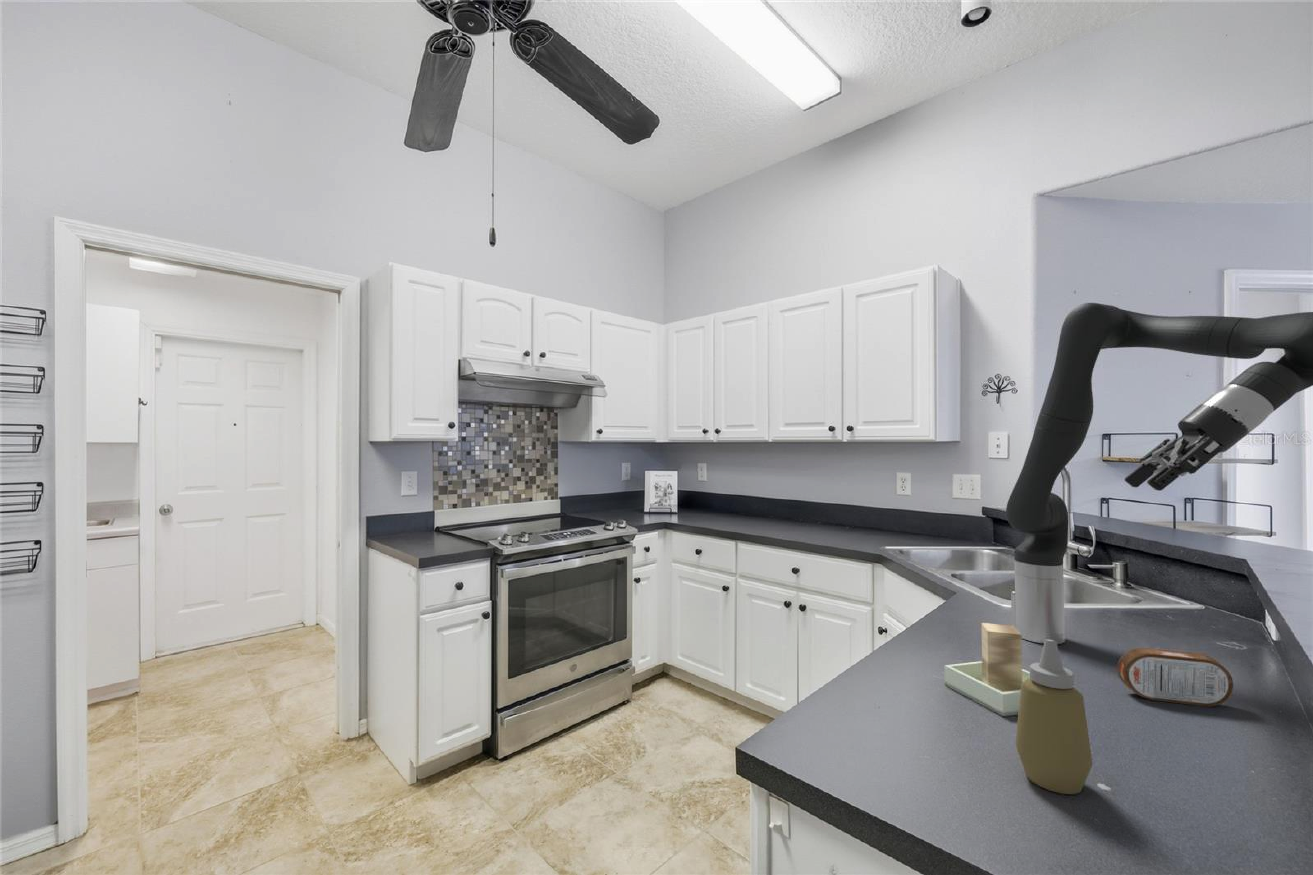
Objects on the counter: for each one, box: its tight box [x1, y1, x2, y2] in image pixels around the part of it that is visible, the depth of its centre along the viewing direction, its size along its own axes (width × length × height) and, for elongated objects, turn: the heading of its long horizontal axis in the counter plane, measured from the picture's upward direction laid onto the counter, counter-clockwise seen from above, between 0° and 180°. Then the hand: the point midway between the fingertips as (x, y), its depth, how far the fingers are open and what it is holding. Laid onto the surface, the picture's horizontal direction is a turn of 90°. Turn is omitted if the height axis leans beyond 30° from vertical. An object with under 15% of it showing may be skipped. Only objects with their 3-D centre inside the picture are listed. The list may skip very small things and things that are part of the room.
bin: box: [943, 660, 1030, 717], centre depth 96 cm, size 12×12×4 cm
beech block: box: [981, 622, 1023, 692], centre depth 96 cm, size 5×5×11 cm
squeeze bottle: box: [1015, 639, 1094, 795], centre depth 71 cm, size 8×8×18 cm
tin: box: [1117, 646, 1234, 707], centre depth 94 cm, size 15×3×8 cm, turn 71°
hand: (1140, 485), depth 96 cm, fingers open, 8 cm apart
